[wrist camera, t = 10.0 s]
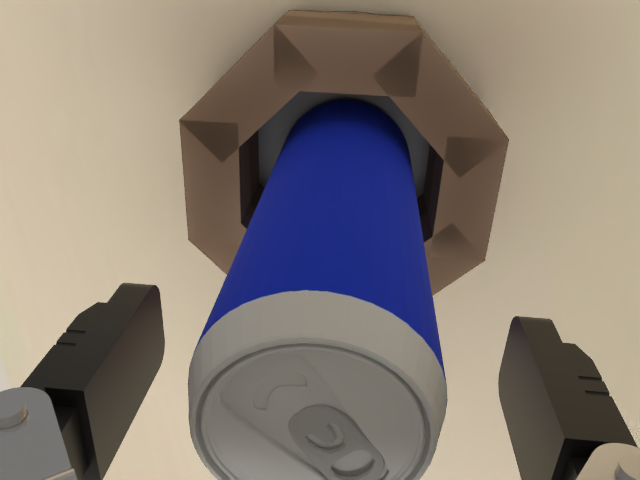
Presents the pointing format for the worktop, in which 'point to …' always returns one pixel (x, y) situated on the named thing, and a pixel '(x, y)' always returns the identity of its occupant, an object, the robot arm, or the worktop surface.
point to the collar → (332, 85)
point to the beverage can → (325, 318)
